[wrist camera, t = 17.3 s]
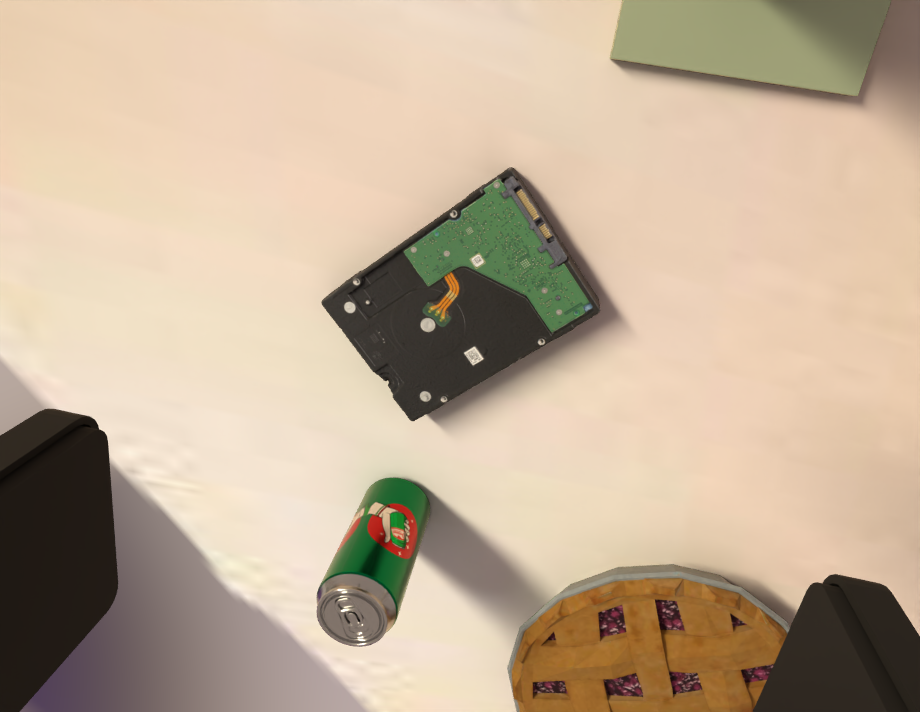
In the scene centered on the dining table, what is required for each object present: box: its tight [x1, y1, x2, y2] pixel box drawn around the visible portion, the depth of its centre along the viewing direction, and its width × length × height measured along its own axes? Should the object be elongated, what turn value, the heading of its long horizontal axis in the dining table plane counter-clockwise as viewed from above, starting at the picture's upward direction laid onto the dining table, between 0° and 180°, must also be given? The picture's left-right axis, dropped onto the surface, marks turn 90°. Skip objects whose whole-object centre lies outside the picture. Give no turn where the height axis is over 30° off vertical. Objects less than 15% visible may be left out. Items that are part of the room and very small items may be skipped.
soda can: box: [317, 478, 430, 647], centre depth 45 cm, size 5×5×12 cm
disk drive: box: [322, 167, 600, 421], centre depth 43 cm, size 10×3×15 cm
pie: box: [507, 564, 790, 712], centre depth 50 cm, size 22×22×5 cm
